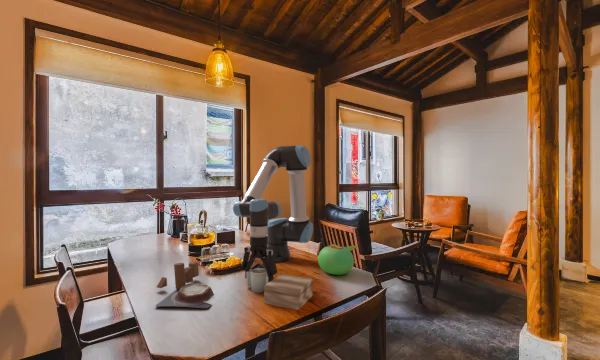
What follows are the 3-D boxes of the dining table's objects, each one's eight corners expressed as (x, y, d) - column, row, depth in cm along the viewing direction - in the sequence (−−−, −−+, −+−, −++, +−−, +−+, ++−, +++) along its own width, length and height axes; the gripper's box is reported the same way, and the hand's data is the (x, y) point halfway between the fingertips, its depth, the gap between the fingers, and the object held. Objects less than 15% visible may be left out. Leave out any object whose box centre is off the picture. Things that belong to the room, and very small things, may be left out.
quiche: (181, 287, 125) (181, 277, 125) (226, 289, 124) (226, 279, 124) (153, 306, 104) (154, 295, 105) (207, 309, 103) (208, 298, 103)
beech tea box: (281, 290, 121) (281, 274, 121) (312, 296, 115) (312, 278, 115) (264, 304, 108) (264, 285, 108) (298, 311, 102) (298, 291, 102)
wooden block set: (192, 278, 135) (191, 256, 135) (205, 279, 131) (203, 257, 131) (156, 291, 120) (154, 267, 120) (169, 294, 115) (167, 268, 116)
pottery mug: (270, 283, 128) (261, 268, 127) (253, 291, 130) (243, 276, 129) (276, 269, 140) (267, 255, 139) (260, 276, 142) (251, 262, 141)
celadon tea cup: (257, 285, 126) (257, 267, 126) (270, 288, 122) (270, 269, 122) (247, 290, 120) (247, 271, 120) (260, 294, 116) (260, 274, 116)
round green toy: (311, 273, 142) (311, 243, 142) (331, 265, 154) (331, 238, 154) (341, 282, 130) (341, 249, 129) (361, 273, 142) (361, 243, 142)
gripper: (232, 234, 123) (232, 286, 123) (276, 240, 112) (276, 296, 112) (243, 231, 130) (243, 281, 130) (286, 236, 119) (286, 290, 119)
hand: (258, 288), depth 121 cm, fingers open, 10 cm apart
